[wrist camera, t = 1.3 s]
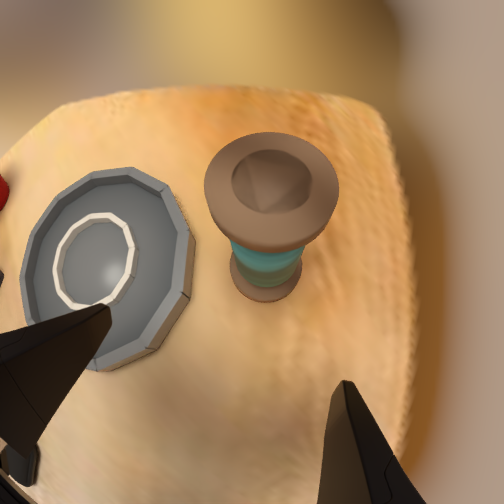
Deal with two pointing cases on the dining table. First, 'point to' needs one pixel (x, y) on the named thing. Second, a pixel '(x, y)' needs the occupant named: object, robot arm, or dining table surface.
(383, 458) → the robot arm
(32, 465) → the carrying case or bag
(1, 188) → the plastic cup
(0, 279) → the calculator
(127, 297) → the round tray
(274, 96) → the dining table surface
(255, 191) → the bead spool
